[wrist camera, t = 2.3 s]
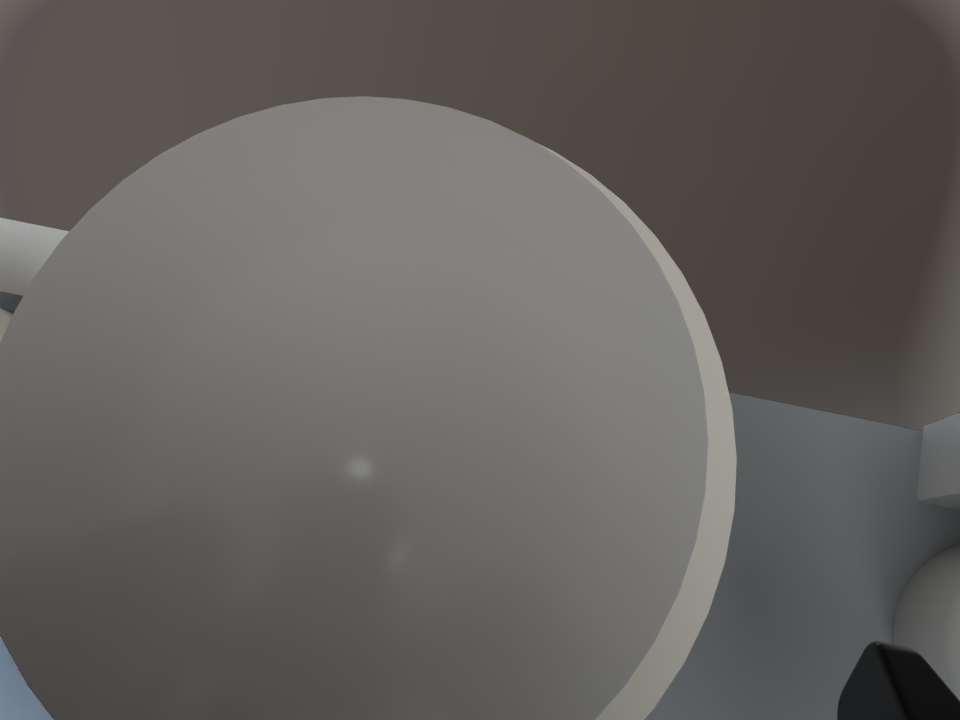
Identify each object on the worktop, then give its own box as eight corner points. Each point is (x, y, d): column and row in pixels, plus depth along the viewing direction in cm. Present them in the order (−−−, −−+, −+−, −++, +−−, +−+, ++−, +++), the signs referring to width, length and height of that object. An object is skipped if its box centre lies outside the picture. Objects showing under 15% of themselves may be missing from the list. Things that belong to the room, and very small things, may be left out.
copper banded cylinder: (585, 695, 15) (725, 1048, 4) (319, 638, 16) (-233, 800, 4) (625, 425, 16) (819, 96, 5) (378, 382, 17) (65, 2, 6)
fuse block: (1105, 938, 14) (1237, 1022, 12) (-128, 607, 17) (-250, 613, 15) (1121, 452, 16) (1236, 428, 14) (19, 234, 19) (-63, 179, 17)
